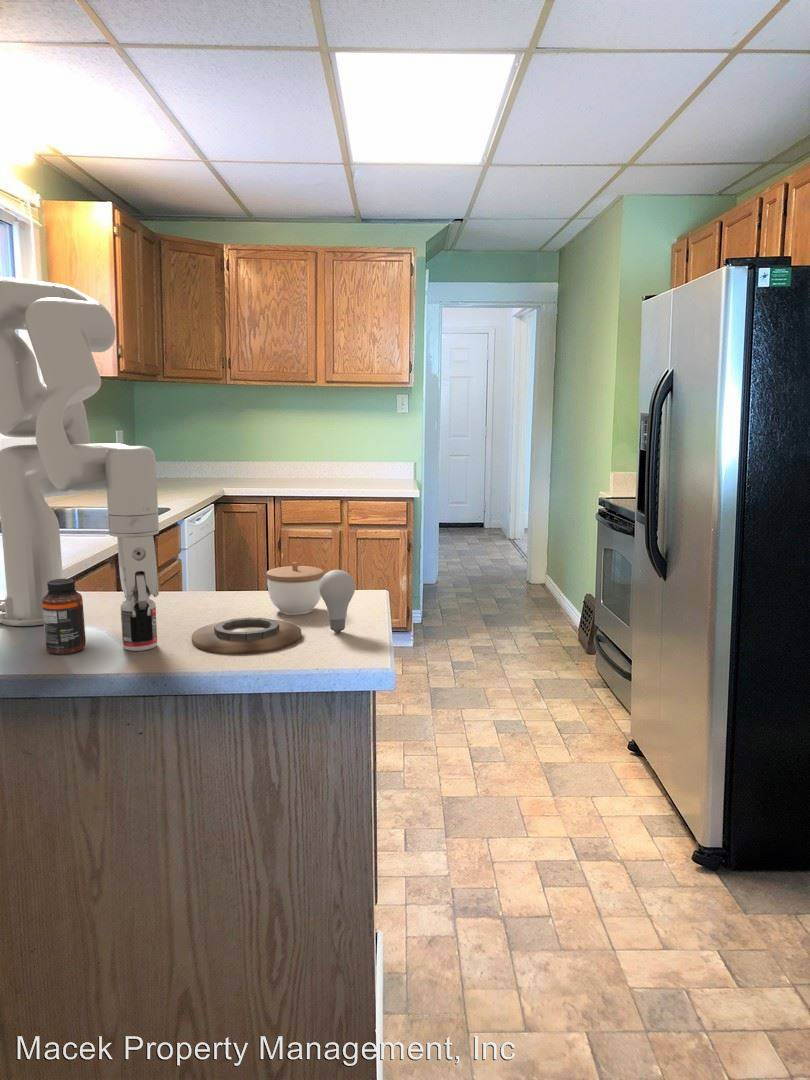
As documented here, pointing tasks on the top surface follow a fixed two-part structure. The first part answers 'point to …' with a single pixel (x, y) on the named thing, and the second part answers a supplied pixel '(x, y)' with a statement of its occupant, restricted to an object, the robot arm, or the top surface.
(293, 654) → the top surface
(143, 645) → the pill bottle
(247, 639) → the brown disc with ring
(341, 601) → the lightbulb
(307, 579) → the lidded jar
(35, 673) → the top surface
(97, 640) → the top surface
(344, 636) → the top surface
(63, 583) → the supplement bottle
